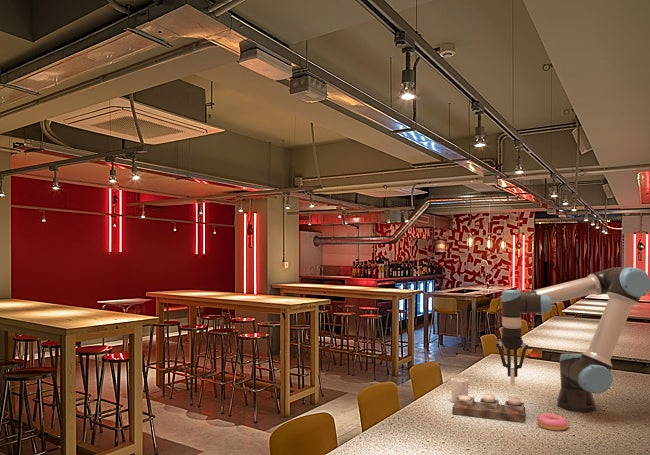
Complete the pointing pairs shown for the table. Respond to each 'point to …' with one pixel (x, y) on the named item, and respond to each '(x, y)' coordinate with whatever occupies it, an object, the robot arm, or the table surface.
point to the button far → (464, 398)
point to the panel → (489, 410)
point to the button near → (514, 400)
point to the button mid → (488, 398)
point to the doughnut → (552, 422)
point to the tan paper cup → (459, 387)
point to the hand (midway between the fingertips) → (512, 384)
